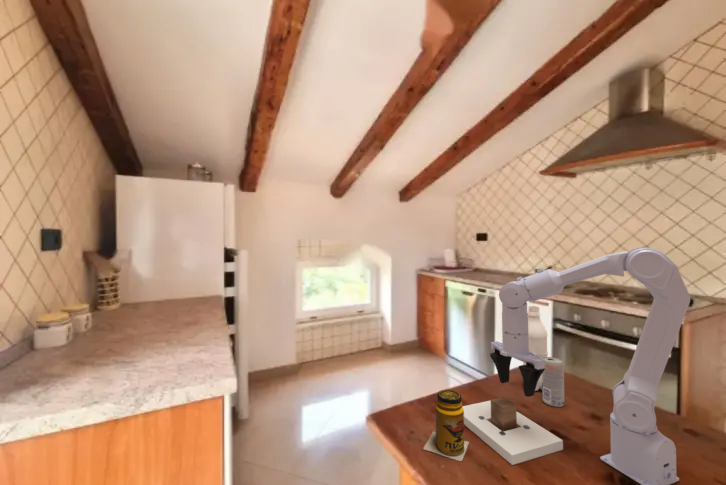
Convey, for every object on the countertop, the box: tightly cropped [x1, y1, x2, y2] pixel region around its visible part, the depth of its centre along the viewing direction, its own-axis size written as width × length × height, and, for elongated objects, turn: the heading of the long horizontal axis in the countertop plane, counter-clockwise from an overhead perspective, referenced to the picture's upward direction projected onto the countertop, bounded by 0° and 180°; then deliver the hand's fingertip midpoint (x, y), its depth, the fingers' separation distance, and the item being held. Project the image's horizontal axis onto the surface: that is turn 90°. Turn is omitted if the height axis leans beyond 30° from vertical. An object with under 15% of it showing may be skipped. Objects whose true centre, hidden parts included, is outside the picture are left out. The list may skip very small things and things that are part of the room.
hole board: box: [462, 399, 564, 466], centre depth 78 cm, size 20×14×2 cm
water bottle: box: [521, 305, 549, 392], centre depth 101 cm, size 7×7×25 cm
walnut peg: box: [490, 397, 517, 431], centre depth 78 cm, size 4×4×7 cm
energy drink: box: [541, 356, 565, 408], centre depth 91 cm, size 5×5×12 cm
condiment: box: [422, 389, 470, 462], centre depth 73 cm, size 7×8×12 cm
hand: (516, 388), depth 78 cm, fingers open, 7 cm apart
